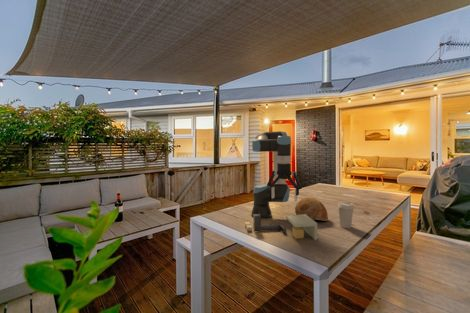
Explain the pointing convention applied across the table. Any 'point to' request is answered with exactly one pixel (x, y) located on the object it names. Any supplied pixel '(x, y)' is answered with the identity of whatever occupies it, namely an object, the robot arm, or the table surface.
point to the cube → (298, 232)
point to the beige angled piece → (304, 224)
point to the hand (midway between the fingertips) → (284, 199)
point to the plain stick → (248, 226)
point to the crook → (259, 227)
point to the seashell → (311, 209)
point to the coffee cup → (345, 214)
